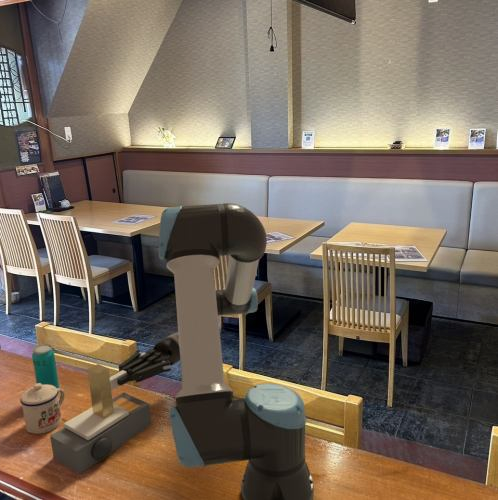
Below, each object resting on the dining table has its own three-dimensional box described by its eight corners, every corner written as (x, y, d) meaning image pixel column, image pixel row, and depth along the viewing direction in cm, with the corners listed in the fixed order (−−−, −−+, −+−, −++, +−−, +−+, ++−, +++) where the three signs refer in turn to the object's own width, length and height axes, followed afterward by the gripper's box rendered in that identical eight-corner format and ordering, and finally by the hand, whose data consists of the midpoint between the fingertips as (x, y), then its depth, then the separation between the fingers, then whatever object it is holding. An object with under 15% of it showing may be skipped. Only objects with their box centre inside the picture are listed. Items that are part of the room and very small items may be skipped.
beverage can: (44, 390, 148) (36, 344, 144) (63, 390, 148) (56, 343, 144) (35, 401, 142) (27, 353, 138) (55, 401, 142) (48, 353, 138)
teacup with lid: (42, 439, 126) (35, 397, 123) (17, 429, 130) (10, 389, 127) (78, 413, 136) (72, 374, 133) (54, 405, 140) (48, 367, 137)
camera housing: (125, 412, 136) (123, 392, 134) (155, 425, 130) (153, 405, 128) (53, 457, 119) (49, 435, 117) (83, 476, 113) (79, 452, 111)
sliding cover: (105, 403, 129) (99, 357, 126) (129, 414, 124) (123, 366, 120) (64, 427, 120) (56, 378, 116) (88, 440, 115) (81, 389, 111)
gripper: (191, 367, 139) (123, 409, 121) (157, 355, 146) (89, 392, 128) (189, 342, 137) (120, 381, 119) (155, 331, 144) (86, 366, 126)
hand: (104, 387), depth 123 cm, fingers closed
